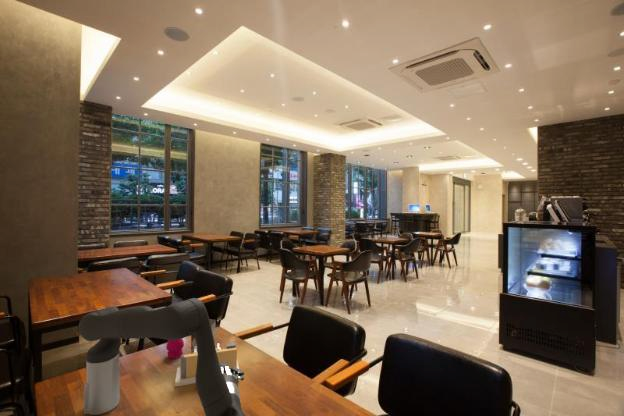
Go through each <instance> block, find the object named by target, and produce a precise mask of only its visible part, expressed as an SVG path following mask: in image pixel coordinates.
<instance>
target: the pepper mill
mask: <svg viewBox="0 0 624 416" xmlns="http://www.w3.org/2000/svg"><path fill="white" fill-rule="evenodd" d="M184 347H185V344H184V338H181V339H178V340H168V341H167V343H166V350H167V357H168V359H179V358H181V355H184V354H183V353H184V352H183V351H184V350H183V348H184Z"/></svg>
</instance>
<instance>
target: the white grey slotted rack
mask: <svg viewBox="0 0 624 416" xmlns="http://www.w3.org/2000/svg"><path fill="white" fill-rule="evenodd" d="M225 345H226V346H225V347H226V348H225V349H227V348H234V347H236V348H237V345H236V341H233V342H227V343H225ZM237 368H238V369H240V367H239V361H238V360H237ZM234 373H235V371H234ZM192 384H196V376H191V377H186V378H181V377H180V366H178V367H177V368H176V374H175V380H174V387H181V386H186V385H192Z"/></svg>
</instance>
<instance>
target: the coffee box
mask: <svg viewBox="0 0 624 416" xmlns="http://www.w3.org/2000/svg"><path fill="white" fill-rule="evenodd" d="M209 320H210V325H211V329H212V334H213V338H214V342H215V343H216V326H217V325H216V324H217V323H216V321H217V320H216V319H212V318H211V319H210V318H209ZM190 337H191V338H190V354H193V351H194V348H195V346H197V343H196V340H195V337H194V335H193V334H190ZM197 351H198V350H197Z"/></svg>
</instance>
